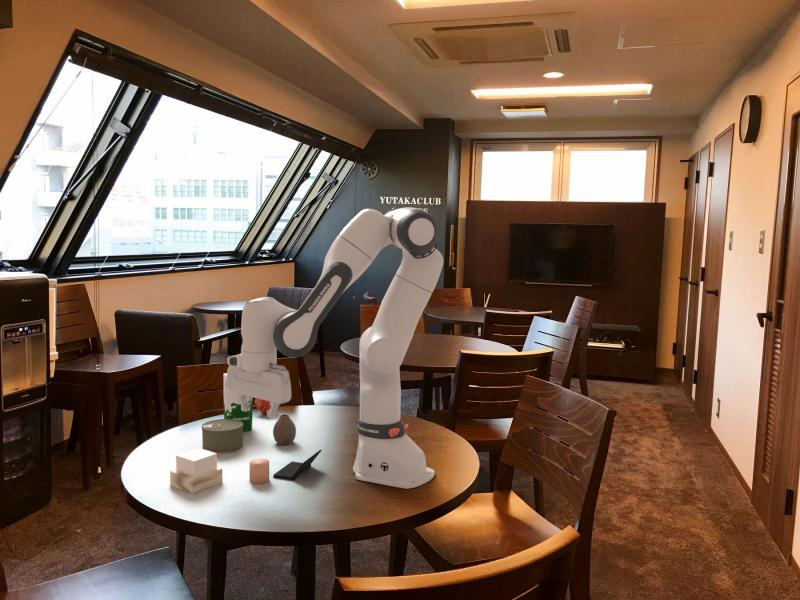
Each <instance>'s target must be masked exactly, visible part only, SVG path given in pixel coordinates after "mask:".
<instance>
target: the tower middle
mask: <svg viewBox="0 0 800 600" xmlns="http://www.w3.org/2000/svg"><path fill="white" fill-rule="evenodd" d="M175 464H176V468H175V469H176V471H179V472H181V473H184V474H187V475H190V476H193V477H196V476H198V475H201V474H204V473H207V472H209V471H212V470H215V469H217V467H218V453H214V452H210V451H207V450H204V449H203V448H202V447H199V448H194V449H191V450H189V451H186V452H185V451H184V452H183V453H179V454H176V455H175Z"/></svg>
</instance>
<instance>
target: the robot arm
mask: <svg viewBox="0 0 800 600" xmlns="http://www.w3.org/2000/svg"><path fill="white" fill-rule="evenodd" d="M438 229H439V228H438V224H437V221H436V219H435V218H434V217H433V216H432V214H431V213H429V212H427V211H426V210H423V209H418V208H417V207H411V206H409V207H407V206H406V207H401V206H400V207H395V208H392V209H390V210H387V211H386V212H383V213H382V212H380V211H379V210H377V209H373V208H364V209H362V210H361V211H360V212H358V213H357V214H356V215H355V216H354V217H353V218H352V219H351V220H349V222H348V223H347V224H346V225H345V227H343V229H342V230H341V231H340V232H339V234H338V235H337V236H336V237H335V239H334V240H333V242H332V243H331V246H330V247H329V249H328V251H327V253H326V255H325V257H324V261H323V268H322V270H321V271H322V272H321V274H320V277H319V279H318V281H317V283H316V285H315V286H314V287H313V289H312V290H311V291H310V293H309V294H308V295H307V297H306V299H305V300H304V301H303V303H302V304H301V305H300V307H299V308H298V309H295V308H291V307H289V306H286V305H285V304H283V303H281V302H279V301H277V300H276V299H275V298H274V297H271V296H263V297H257V298H254V299H253V298H252V299H250V300H249V301H247V302H246V303H245V304H244V305H243V309H242V312H241V325H240V326H241V328H240V333H241V338H242V342H241V343H242V344H241V349H240V353H238V354H236V355H232V356H228V357H227V360H226V361H227V362H226V363H227V366H228V367H227V370H226V371H227V372H226V373H227V387H228V389H229V391H230V392H234V393H238V398H239V401H240V403H241V410H242V411H245V412H247V411H250V404H248V401H247V397H248V396H250V397H253V399H254V398H255V399H256V398H258V399H262V400H266V401H270V405H271V408H270V410H269V411H267V414H266V417H267V418H268V419H275V418H276V416H277V410H278V409H279V406H280V405H281V404H285V403H288V402H290V400H291V399H292V383H291V378H290V372H289V370H288V369H287V368H286V367H285V365H279V364H277V357H278V356H277V354H278V353H277V352H279V353H281V354H282V355H284V356H285V357H288V358H300V357H304V356H305V355H307V354H308V353H310V352H311V351H312V350H313V348H314V346H315V343H316V342H317V341H316V340H317V336H318V332H319V329H320V326H321V324H322V323H323V320H324V319H325V318H326V317H327V316H328V314H329V312H330V311H331V309H332V308H333V307H334V306H335V304H336V303H337V301H338V300H339V299H340V297H341V296H342V295H343V293H344V292H345V291H346V290H347V289H349V287H350V286H352V284H354V283H355V282H356V280H358V279H359V278H360V277H361V276H362V275H363V273H364V272H365V271H366V270H367V269H368V268H369V267H370V265H371V264H372V263H373V261H375V259H376V257H377V256H378V254H379V253H380V252H381V251H382V250H383V249H384V248H385V247H387V246H389V245H391V246H394V247H396V248H398V249H400V250H401V251H402V258H401V262H400V265H399V266H398V267H399V268H398V269H397V271H396V273H395V275H394V276H393V278H392V279H391V282H390V284H389V286H388V288H387V291H386V292H385V295H384V297H383V298H382V300H381V304H380V306H379V308H378V311H377V314H376V317H375V319H374V321H373V323H372V325H371V326H369V327H368V328H367V329H366V330H365V331H364V332H363V333H362V334H361V336H360V339H359V347H358V348H359V417H358V419H357V433H358V444H357V450H356V456H355V460H354V463H353V467H352V471H353V472H354V473H355V479H356V480H359V481H364V482H367V483H368V482H370V483H374V484H379V485H384V486H389V487H395V488H400V489H405V490H406V489H413V488H417V487H421V486H423V485H424V484H426V483H428V482H429V481H431V480H432V479H433V478H434V477H435V470H434V469H433V468H430V467H428V466H427V460H426V456H425V452H424V450H422V449H421V448H420V446H418V445H417V444H416V443H415V441H414V440H412V439H411V438H410V437H409V436H408V435H407V433H406V432H407V431H406V429H408V428H409V425H410V424H409V423H405V424H404V422H403V419H402V418H401V405H402V403H401V399H402V398H401V397H402V388H401V375H400V367H401V366H402V364H403V361H404V358H405V356H406V353H407V351H408V349H409V347H410V344H411V341H412V339H413V336H414V333H415V331H416V328H417V326H418V323H419V321H420V319H421V316H422V315H423V312H424V310H425V309H426V306H427V305H428V302H429V300H430V299H431V296H432V293H434V290H435V288H436V286H437V283H438V281H439V278H440V275H441V273H442V270H443V265H444V256H443V254H442V253H441V252H440V251H439V250H438V249H437V247H438V236H439V235H438V234H439V233H438V232H439V230H438Z"/></svg>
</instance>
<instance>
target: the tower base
mask: <svg viewBox="0 0 800 600" xmlns="http://www.w3.org/2000/svg"><path fill="white" fill-rule="evenodd" d="M169 479H170V484H171V485H170V486H172V485H173V486H172V487H174V486H175V488H177V487H178V488H177V489H179V488H180V490H182V491H184V490H185V491H184V492H187V493H190V494H196V492H197V493H199V492H201V490H202V491H204V490H206V488H207V489H210V488H211V486H212V487H214V485H215V486H217V485H219V484H223V483H224V482H223V468H221V467H219V466H217V469H215V470H212V471H209V472H207V473H204V474H201V475H198V476H196V477H193V476H190V475H187V474H184V473H181V472H179V471H176V468H175V469H171V470H170V471H169Z"/></svg>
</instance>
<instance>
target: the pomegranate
mask: <svg viewBox="0 0 800 600" xmlns="http://www.w3.org/2000/svg"><path fill="white" fill-rule="evenodd" d="M254 405H256V410H255V411H254V413H256V412H260V413H261V414H262V415H267V411H269V410H270V408H271V405H270V401H266V400H262V399H258V398H255V400H254Z"/></svg>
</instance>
